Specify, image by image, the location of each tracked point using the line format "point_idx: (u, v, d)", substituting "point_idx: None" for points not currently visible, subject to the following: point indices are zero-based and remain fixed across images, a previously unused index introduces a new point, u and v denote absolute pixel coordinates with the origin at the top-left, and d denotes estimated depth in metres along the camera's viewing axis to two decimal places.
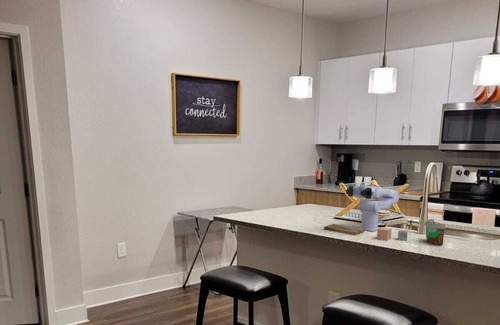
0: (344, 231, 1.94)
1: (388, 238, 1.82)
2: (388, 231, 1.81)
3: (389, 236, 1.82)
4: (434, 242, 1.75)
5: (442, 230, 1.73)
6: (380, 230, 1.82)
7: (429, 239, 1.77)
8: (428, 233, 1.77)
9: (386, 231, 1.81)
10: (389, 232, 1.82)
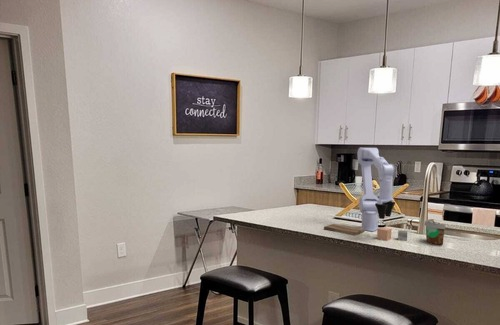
0: (344, 231, 1.94)
1: (388, 238, 1.82)
2: (388, 231, 1.81)
3: (389, 236, 1.82)
4: (434, 242, 1.75)
5: (442, 230, 1.73)
6: (380, 230, 1.82)
7: (429, 239, 1.77)
8: (428, 233, 1.77)
9: (386, 231, 1.81)
10: (389, 232, 1.82)
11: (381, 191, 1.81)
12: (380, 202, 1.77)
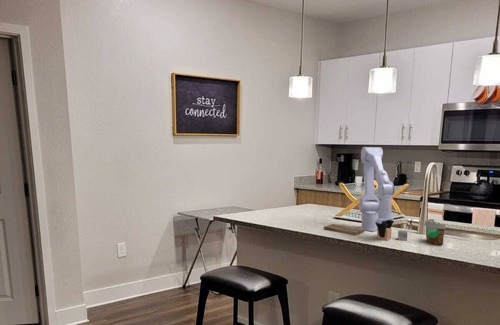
0: (344, 231, 1.94)
1: (388, 238, 1.82)
2: (388, 231, 1.81)
3: (389, 236, 1.82)
4: (434, 242, 1.75)
5: (442, 230, 1.73)
6: None
7: (429, 239, 1.77)
8: (428, 233, 1.77)
9: (386, 231, 1.81)
10: (389, 232, 1.82)
11: (380, 210, 1.82)
12: (379, 221, 1.78)
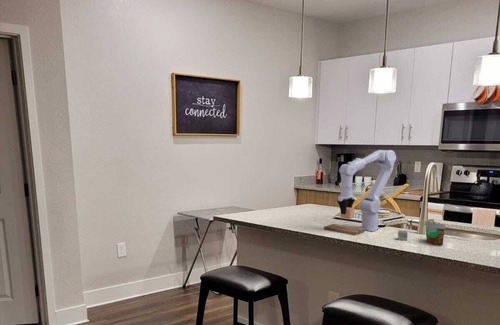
0: (344, 231, 1.94)
1: (350, 216, 1.95)
2: (350, 210, 1.94)
3: (352, 215, 1.96)
4: (434, 242, 1.75)
5: (442, 230, 1.73)
6: None
7: (429, 239, 1.77)
8: (428, 233, 1.77)
9: (349, 210, 1.94)
10: (352, 211, 1.96)
11: (342, 189, 1.96)
12: (340, 199, 1.92)
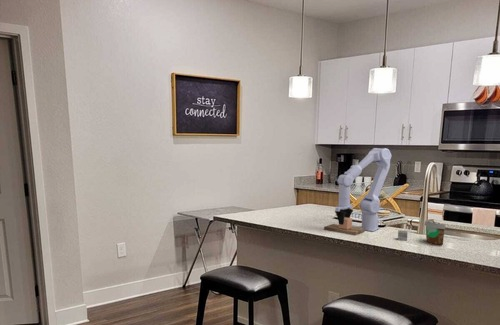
0: (344, 231, 1.94)
1: (348, 227, 1.96)
2: (348, 221, 1.95)
3: (349, 225, 1.97)
4: (434, 242, 1.75)
5: (442, 230, 1.73)
6: None
7: (429, 239, 1.77)
8: (428, 233, 1.77)
9: (346, 220, 1.95)
10: (349, 221, 1.96)
11: (340, 199, 1.97)
12: (337, 209, 1.93)
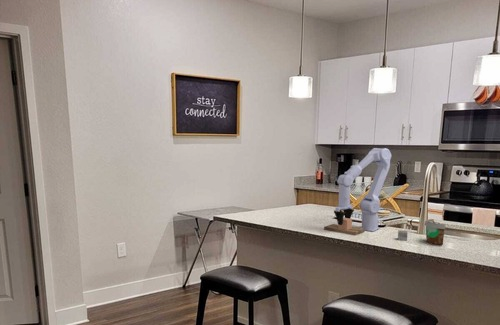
0: (344, 231, 1.94)
1: (348, 227, 1.96)
2: (348, 221, 1.95)
3: (349, 225, 1.97)
4: (434, 242, 1.75)
5: (442, 230, 1.73)
6: None
7: (429, 239, 1.77)
8: (428, 233, 1.77)
9: (346, 221, 1.95)
10: (349, 222, 1.97)
11: (340, 199, 1.97)
12: (337, 209, 1.93)
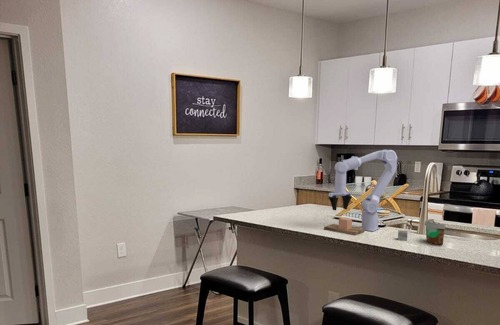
0: (344, 231, 1.94)
1: (348, 227, 1.96)
2: (348, 221, 1.95)
3: (349, 225, 1.97)
4: (434, 242, 1.75)
5: (442, 230, 1.73)
6: (341, 220, 1.97)
7: (429, 239, 1.77)
8: (428, 233, 1.77)
9: (346, 221, 1.95)
10: (349, 222, 1.97)
11: (335, 185, 2.02)
12: (330, 195, 1.99)
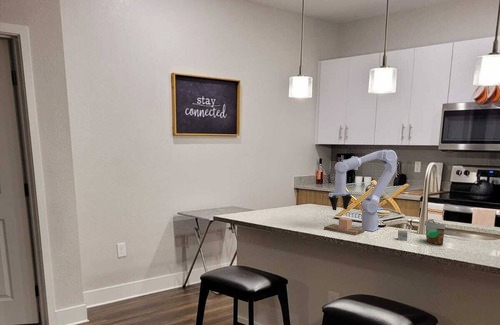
0: (344, 231, 1.94)
1: (348, 227, 1.96)
2: (348, 221, 1.95)
3: (349, 225, 1.97)
4: (434, 242, 1.75)
5: (442, 230, 1.73)
6: (341, 220, 1.97)
7: (429, 239, 1.77)
8: (428, 233, 1.77)
9: (346, 221, 1.95)
10: (349, 222, 1.97)
11: (335, 185, 2.02)
12: (330, 195, 1.99)
